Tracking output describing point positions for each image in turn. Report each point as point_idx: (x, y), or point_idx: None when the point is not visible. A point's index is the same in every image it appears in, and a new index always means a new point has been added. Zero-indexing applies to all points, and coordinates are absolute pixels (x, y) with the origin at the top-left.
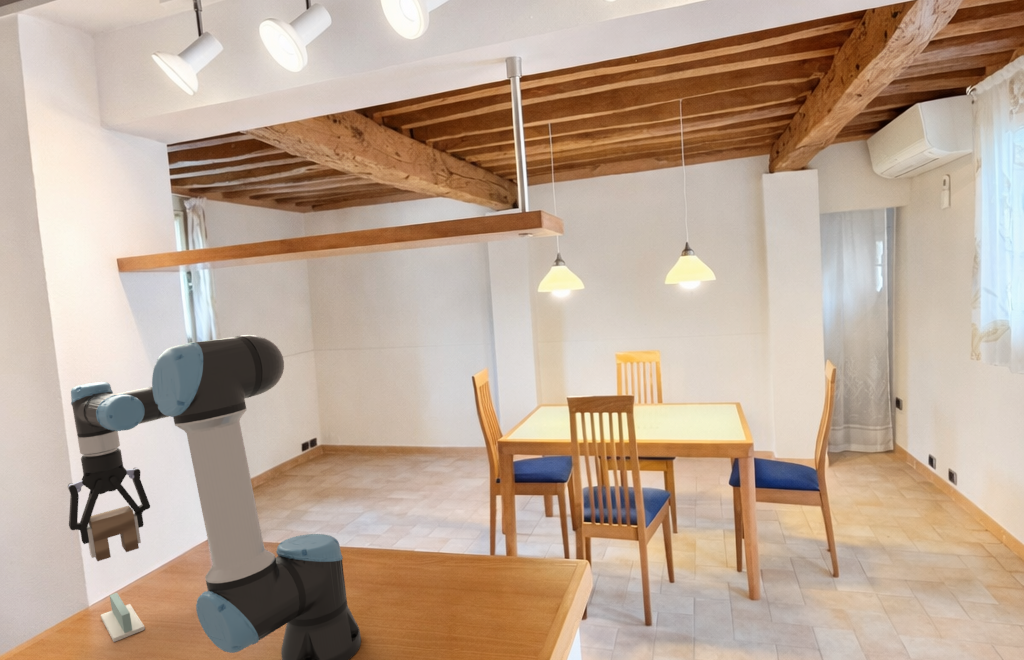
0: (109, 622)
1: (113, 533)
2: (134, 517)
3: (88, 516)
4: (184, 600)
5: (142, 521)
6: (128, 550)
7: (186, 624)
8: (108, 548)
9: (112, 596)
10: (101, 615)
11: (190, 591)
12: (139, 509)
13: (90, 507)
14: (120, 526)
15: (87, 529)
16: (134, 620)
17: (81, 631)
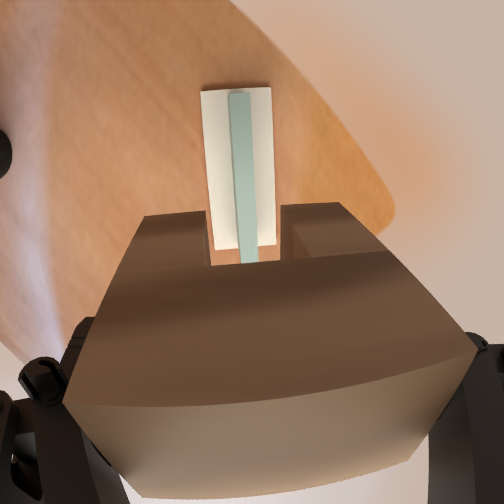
0: (266, 184)
1: (272, 272)
2: None
3: (484, 418)
4: (104, 180)
5: (73, 341)
6: (193, 214)
7: (118, 45)
8: (296, 224)
9: (253, 247)
10: (275, 238)
11: (90, 220)
12: (40, 411)
13: (501, 493)
14: (214, 304)
15: None
16: (216, 144)
17: None
